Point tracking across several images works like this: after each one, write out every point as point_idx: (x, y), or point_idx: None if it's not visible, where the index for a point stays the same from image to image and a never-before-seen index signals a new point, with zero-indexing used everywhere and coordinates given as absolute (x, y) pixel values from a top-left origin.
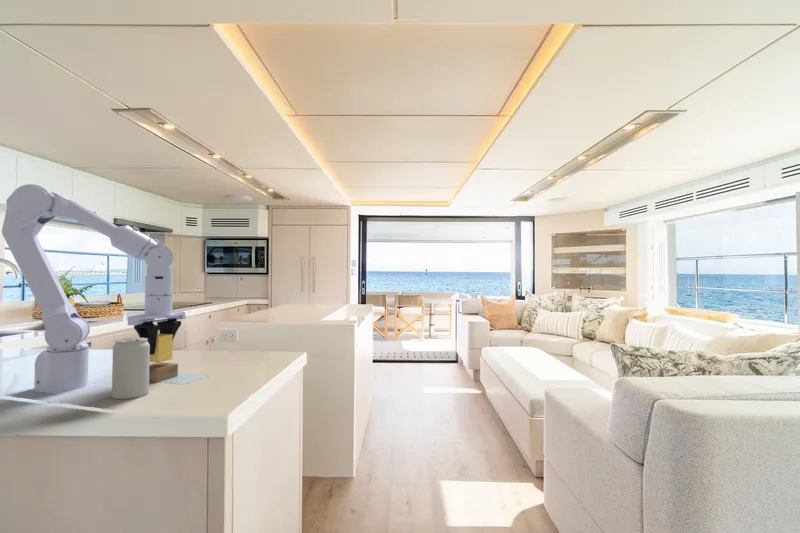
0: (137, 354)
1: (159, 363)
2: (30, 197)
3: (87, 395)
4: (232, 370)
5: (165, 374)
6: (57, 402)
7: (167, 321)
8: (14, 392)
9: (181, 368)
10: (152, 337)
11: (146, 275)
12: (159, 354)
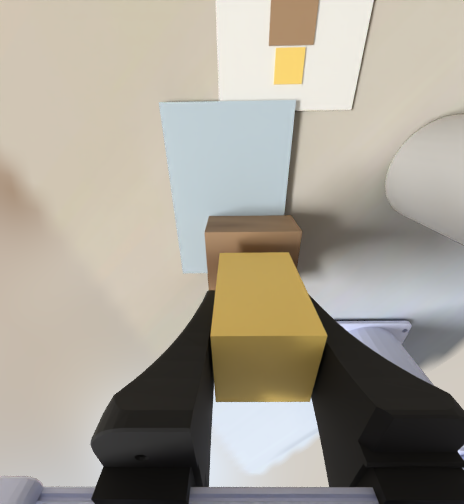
0: None
1: None
2: None
3: (398, 285)
4: (20, 109)
5: (259, 222)
6: (452, 292)
7: (191, 477)
8: None
9: (117, 293)
10: (361, 344)
11: None
12: (290, 269)
